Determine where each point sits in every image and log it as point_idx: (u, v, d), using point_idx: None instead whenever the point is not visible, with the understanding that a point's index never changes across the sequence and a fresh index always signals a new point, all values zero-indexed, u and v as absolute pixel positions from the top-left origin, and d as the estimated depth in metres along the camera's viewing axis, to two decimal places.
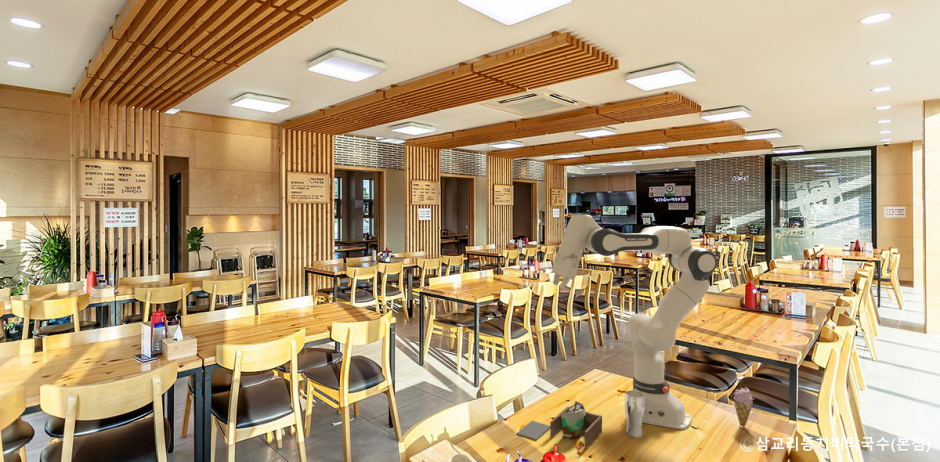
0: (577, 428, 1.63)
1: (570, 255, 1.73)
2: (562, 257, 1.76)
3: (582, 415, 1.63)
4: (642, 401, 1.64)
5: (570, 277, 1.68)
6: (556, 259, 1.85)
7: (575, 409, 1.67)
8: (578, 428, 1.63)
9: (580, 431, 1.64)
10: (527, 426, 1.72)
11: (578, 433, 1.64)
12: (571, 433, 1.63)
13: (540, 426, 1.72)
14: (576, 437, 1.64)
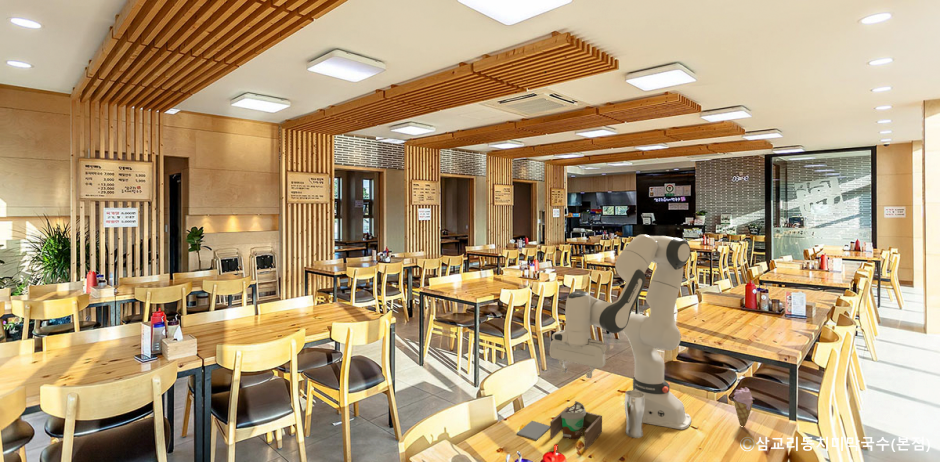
0: (577, 428, 1.63)
1: (587, 341, 1.61)
2: (578, 346, 1.62)
3: (582, 415, 1.63)
4: (642, 401, 1.64)
5: (603, 365, 1.59)
6: (555, 345, 1.68)
7: (575, 409, 1.67)
8: (578, 428, 1.63)
9: (580, 431, 1.64)
10: (527, 426, 1.72)
11: (578, 433, 1.64)
12: (571, 433, 1.63)
13: (540, 426, 1.72)
14: (576, 437, 1.64)
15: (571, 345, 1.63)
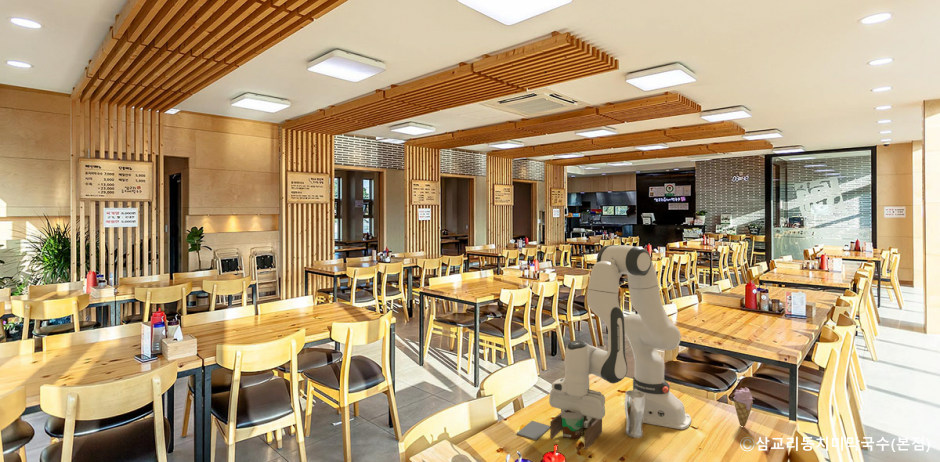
0: (577, 428, 1.63)
1: (587, 392, 1.62)
2: (577, 397, 1.62)
3: (582, 415, 1.63)
4: (642, 401, 1.64)
5: (603, 416, 1.60)
6: (554, 394, 1.68)
7: None
8: (578, 428, 1.63)
9: (580, 431, 1.64)
10: (527, 426, 1.72)
11: (578, 433, 1.64)
12: (571, 433, 1.63)
13: (540, 426, 1.72)
14: (576, 437, 1.64)
15: (571, 395, 1.64)
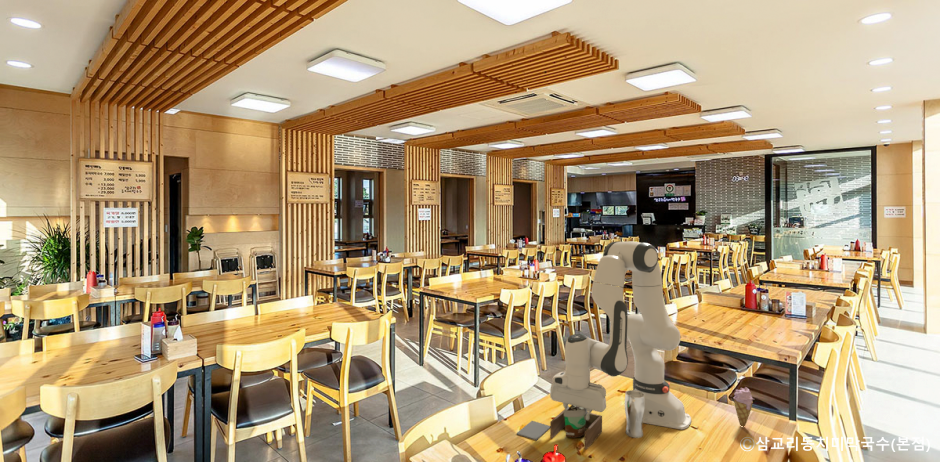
0: (580, 426, 1.63)
1: (588, 385, 1.62)
2: (578, 390, 1.62)
3: (584, 412, 1.63)
4: (642, 401, 1.64)
5: (604, 409, 1.60)
6: (555, 388, 1.68)
7: (577, 407, 1.66)
8: (581, 426, 1.63)
9: (583, 429, 1.64)
10: (527, 426, 1.72)
11: (581, 431, 1.63)
12: (574, 431, 1.63)
13: (540, 426, 1.72)
14: (579, 435, 1.63)
15: (571, 389, 1.64)
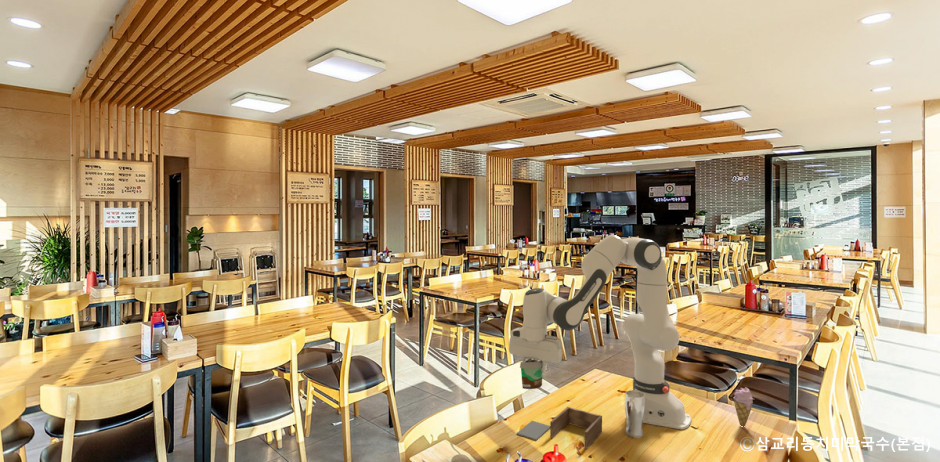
0: (536, 378, 1.65)
1: (544, 337, 1.65)
2: (535, 342, 1.65)
3: (540, 365, 1.65)
4: (642, 401, 1.64)
5: (559, 360, 1.62)
6: (514, 342, 1.71)
7: (534, 360, 1.69)
8: (537, 378, 1.65)
9: (539, 381, 1.66)
10: (527, 426, 1.72)
11: (537, 383, 1.66)
12: (530, 383, 1.65)
13: (540, 426, 1.72)
14: (535, 387, 1.65)
15: (528, 341, 1.66)
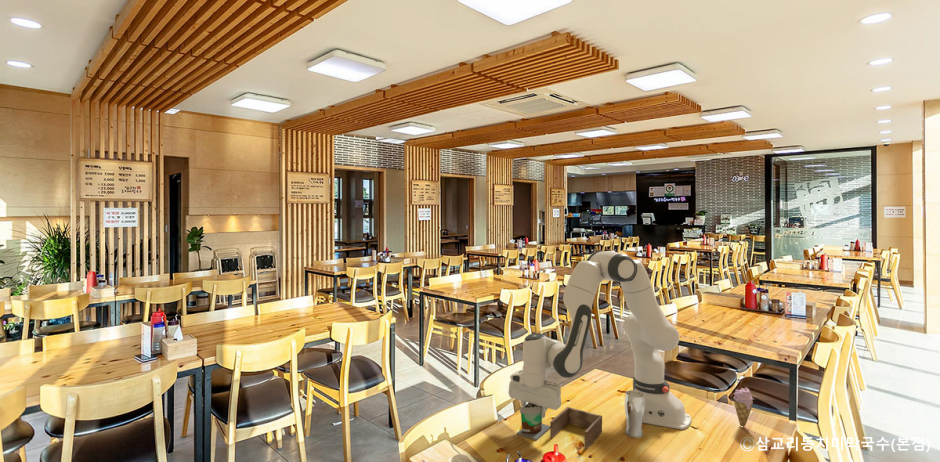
0: (536, 423, 1.66)
1: (543, 383, 1.65)
2: (534, 388, 1.66)
3: (540, 410, 1.66)
4: (642, 401, 1.64)
5: None
6: (513, 386, 1.72)
7: (534, 404, 1.69)
8: (537, 423, 1.66)
9: (539, 426, 1.67)
10: None
11: (537, 428, 1.67)
12: (530, 428, 1.66)
13: None
14: (535, 432, 1.66)
15: (528, 387, 1.67)
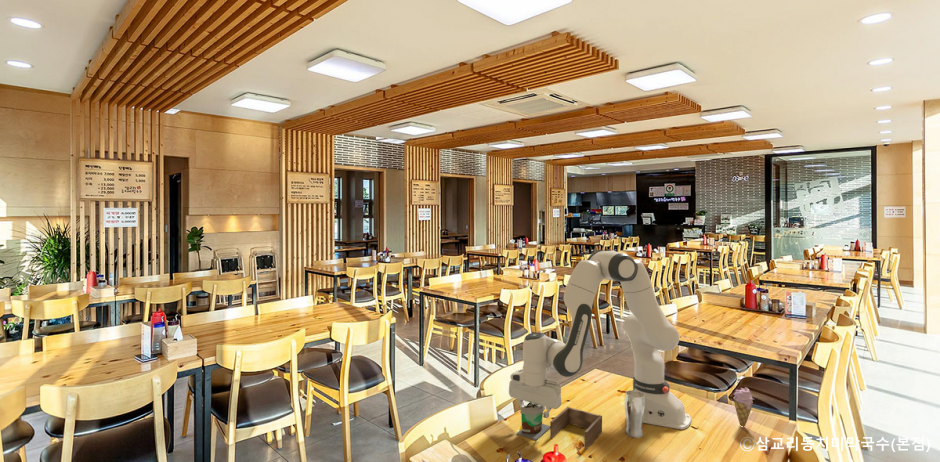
0: (536, 423, 1.66)
1: (544, 382, 1.65)
2: (534, 387, 1.66)
3: (541, 410, 1.66)
4: (642, 401, 1.64)
5: (559, 406, 1.63)
6: (513, 385, 1.72)
7: (535, 404, 1.69)
8: (537, 423, 1.66)
9: (539, 426, 1.67)
10: None
11: (537, 428, 1.66)
12: (530, 428, 1.66)
13: None
14: (535, 432, 1.66)
15: (528, 386, 1.67)
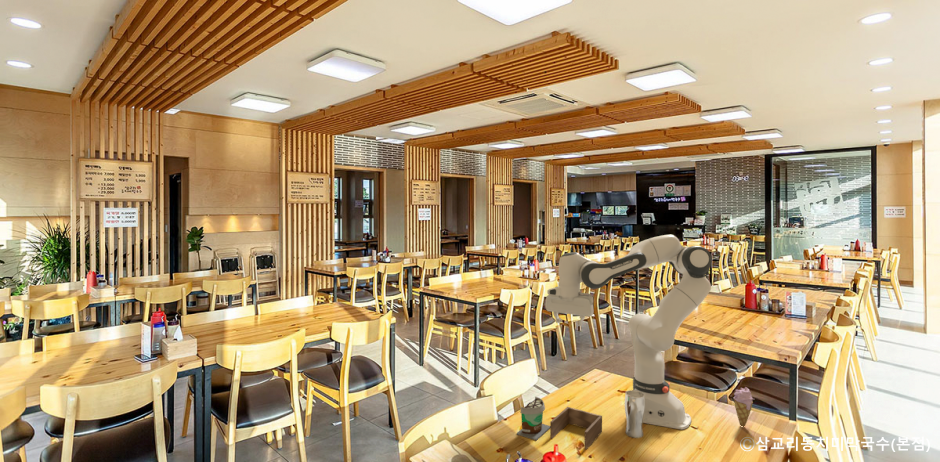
0: (536, 423, 1.66)
1: (578, 294, 1.87)
2: (570, 298, 1.87)
3: (541, 410, 1.66)
4: (642, 401, 1.64)
5: (591, 314, 1.85)
6: (550, 299, 1.93)
7: (535, 404, 1.69)
8: (537, 423, 1.66)
9: (539, 426, 1.67)
10: None
11: (537, 428, 1.66)
12: (530, 428, 1.66)
13: None
14: (535, 432, 1.66)
15: (564, 298, 1.88)
